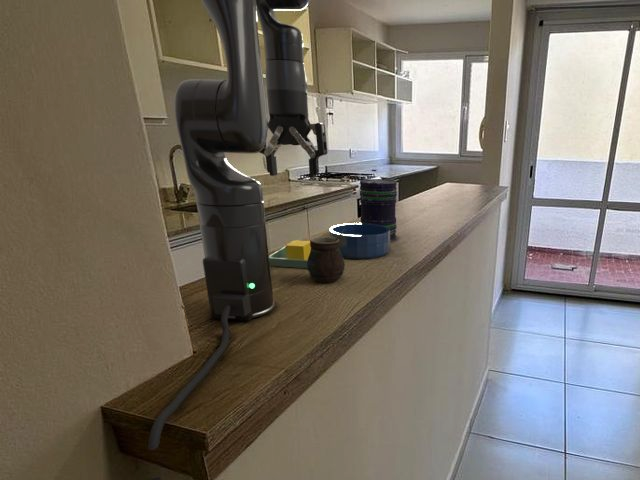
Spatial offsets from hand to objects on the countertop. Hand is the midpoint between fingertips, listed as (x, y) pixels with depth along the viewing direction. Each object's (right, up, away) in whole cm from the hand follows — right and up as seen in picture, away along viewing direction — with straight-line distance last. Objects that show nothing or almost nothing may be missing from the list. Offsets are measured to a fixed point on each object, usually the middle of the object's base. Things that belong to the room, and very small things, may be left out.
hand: (293, 176), depth 92 cm
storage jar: (+15, -8, +31) cm, 35 cm away
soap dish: (-1, -17, +7) cm, 18 cm away
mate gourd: (+8, -22, -4) cm, 24 cm away
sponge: (-1, -16, +7) cm, 18 cm away
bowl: (+12, -13, +16) cm, 24 cm away
